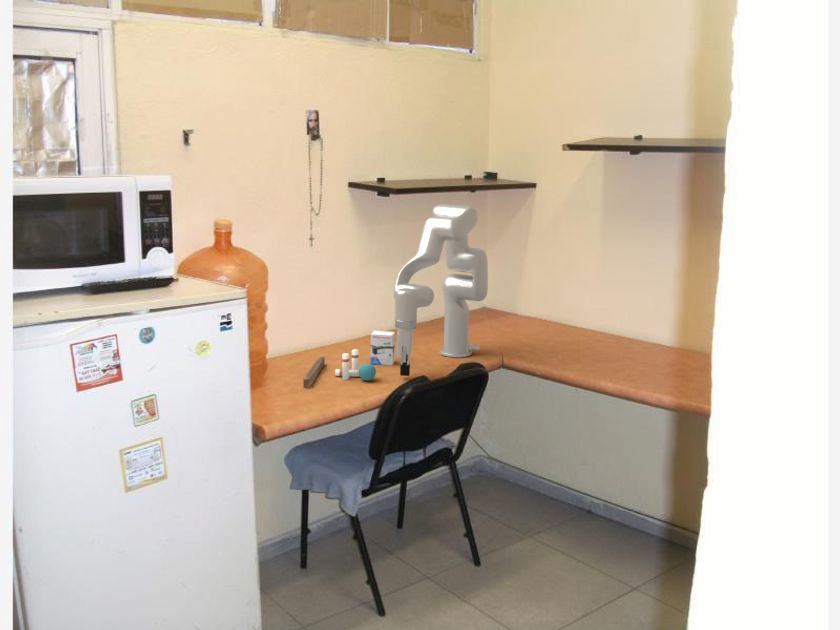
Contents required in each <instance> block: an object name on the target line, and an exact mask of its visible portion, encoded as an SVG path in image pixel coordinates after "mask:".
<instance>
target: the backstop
mask: <svg viewBox="0 0 840 630" xmlns="http://www.w3.org/2000/svg"><path fill="white" fill-rule="evenodd" d="M325 360H326V359H325V356H318V358H317V359H316V361H314V363H313V365H312V366H311V367H310V369H309V370H308V372H307V374H306V375H305V376H304V378H302V379H303V381H302V382H303V389H306V388H307V389H309V388H311V386H312V384H313V383H314V382H315V380H316V379H317V377H318V376H319V374H320V373H321V371H322V369H323V368H324V366H325V363H326V361H325ZM317 375H318V376H317Z"/></svg>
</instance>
